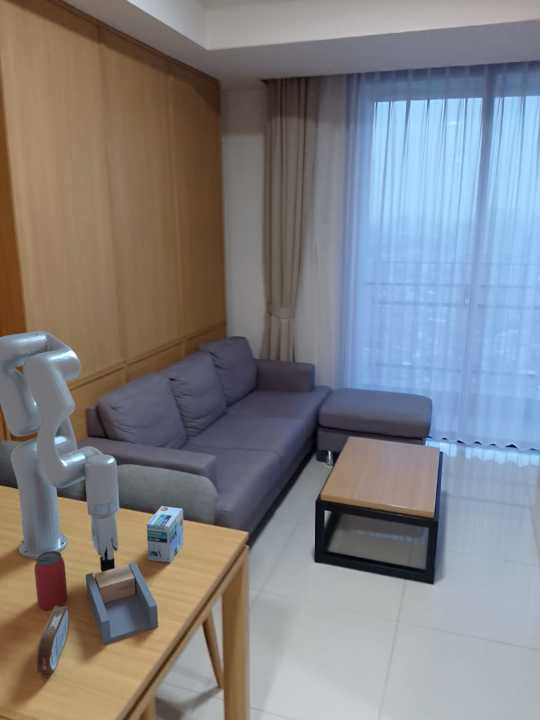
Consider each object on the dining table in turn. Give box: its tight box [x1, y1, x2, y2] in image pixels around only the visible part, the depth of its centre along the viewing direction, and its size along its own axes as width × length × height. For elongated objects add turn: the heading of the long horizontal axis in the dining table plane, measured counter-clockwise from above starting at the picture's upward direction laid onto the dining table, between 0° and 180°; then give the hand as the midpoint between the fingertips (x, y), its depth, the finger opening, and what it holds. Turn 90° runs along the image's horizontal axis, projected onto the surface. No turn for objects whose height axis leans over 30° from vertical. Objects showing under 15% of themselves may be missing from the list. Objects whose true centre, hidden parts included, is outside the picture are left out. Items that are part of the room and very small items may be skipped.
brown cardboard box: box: [93, 564, 135, 603], centre depth 135 cm, size 6×8×4 cm
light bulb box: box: [146, 505, 185, 563], centre depth 153 cm, size 11×7×11 cm, turn 168°
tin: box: [36, 605, 70, 674], centre depth 116 cm, size 15×3×8 cm, turn 5°
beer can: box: [33, 551, 68, 611], centre depth 132 cm, size 7×7×12 cm
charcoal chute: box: [85, 561, 159, 645], centre depth 130 cm, size 19×12×6 cm, turn 28°
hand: (107, 570), depth 142 cm, fingers closed
